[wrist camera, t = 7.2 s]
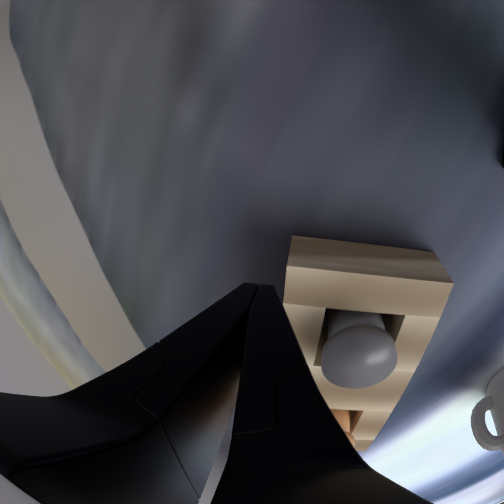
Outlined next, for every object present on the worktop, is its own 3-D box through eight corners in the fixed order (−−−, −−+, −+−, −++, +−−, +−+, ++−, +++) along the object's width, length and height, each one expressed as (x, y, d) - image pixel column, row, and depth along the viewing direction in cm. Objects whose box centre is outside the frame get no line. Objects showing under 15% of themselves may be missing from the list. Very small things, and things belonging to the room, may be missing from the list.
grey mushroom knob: (390, 283, 20) (408, 338, 15) (375, 332, 23) (384, 390, 18) (327, 276, 21) (329, 332, 16) (318, 327, 23) (315, 385, 18)
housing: (292, 235, 20) (286, 265, 17) (434, 252, 19) (453, 283, 15) (271, 412, 30) (265, 443, 26) (364, 420, 28) (365, 451, 25)
